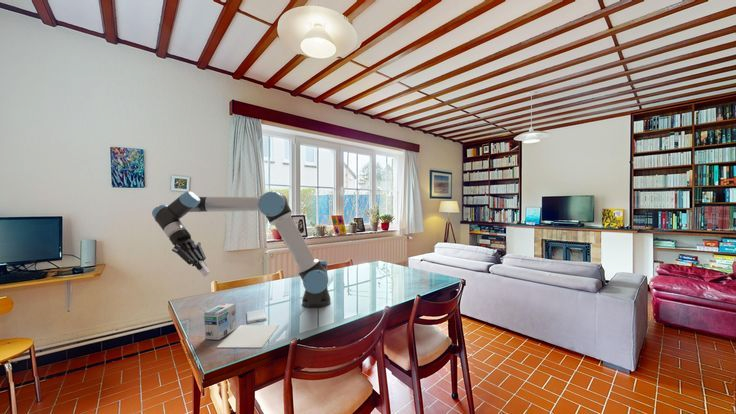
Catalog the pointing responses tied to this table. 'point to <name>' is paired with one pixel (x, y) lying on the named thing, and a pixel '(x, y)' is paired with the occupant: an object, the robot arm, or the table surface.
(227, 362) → the table surface
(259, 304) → the table surface
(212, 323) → the light bulb box
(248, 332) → the felt mat
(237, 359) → the table surface
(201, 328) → the table surface
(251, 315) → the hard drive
